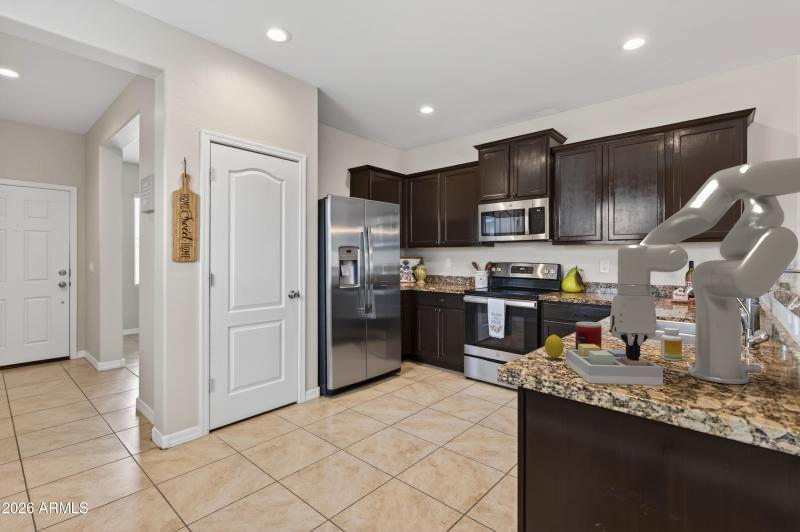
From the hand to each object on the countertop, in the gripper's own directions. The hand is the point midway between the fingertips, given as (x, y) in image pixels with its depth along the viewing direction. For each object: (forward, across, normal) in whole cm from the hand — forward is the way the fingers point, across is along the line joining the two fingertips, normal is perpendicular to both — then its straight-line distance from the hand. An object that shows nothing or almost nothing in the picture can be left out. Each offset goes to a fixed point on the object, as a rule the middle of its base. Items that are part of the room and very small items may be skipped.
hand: (632, 359), depth 103 cm
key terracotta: (+3, 0, 0) cm, 3 cm away
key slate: (+3, 0, -8) cm, 9 cm away
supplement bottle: (+5, -22, -22) cm, 32 cm away
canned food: (+6, +3, -23) cm, 24 cm away
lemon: (+6, +15, -19) cm, 25 cm away
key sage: (+2, +8, 0) cm, 8 cm away
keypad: (+5, +4, -4) cm, 8 cm away
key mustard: (+2, +8, -8) cm, 12 cm away
